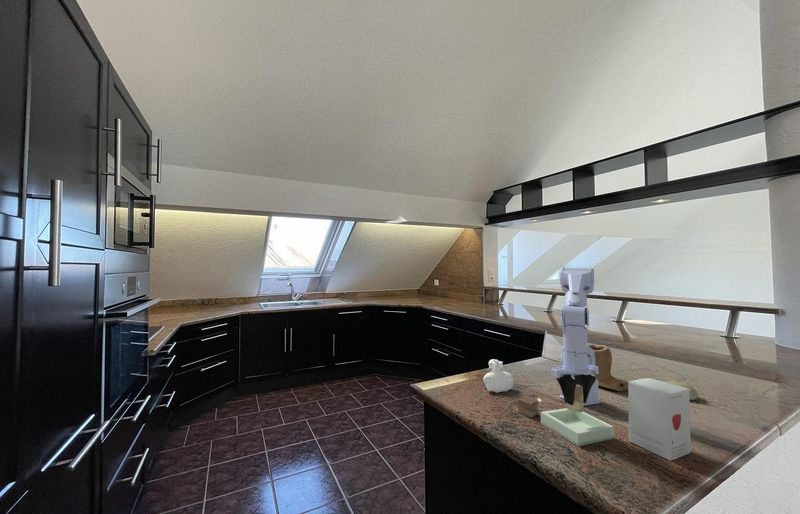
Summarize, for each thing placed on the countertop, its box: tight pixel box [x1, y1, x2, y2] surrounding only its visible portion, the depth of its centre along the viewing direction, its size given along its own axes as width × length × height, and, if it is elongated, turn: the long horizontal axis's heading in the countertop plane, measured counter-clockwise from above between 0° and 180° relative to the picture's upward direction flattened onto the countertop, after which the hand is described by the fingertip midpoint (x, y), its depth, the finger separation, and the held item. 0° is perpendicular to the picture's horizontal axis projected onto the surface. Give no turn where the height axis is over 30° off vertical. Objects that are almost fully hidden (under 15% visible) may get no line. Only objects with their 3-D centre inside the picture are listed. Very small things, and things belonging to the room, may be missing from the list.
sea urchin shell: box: [665, 380, 699, 401], centre depth 107 cm, size 9×8×8 cm
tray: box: [540, 407, 615, 447], centre depth 82 cm, size 12×12×3 cm
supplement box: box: [628, 377, 692, 461], centre depth 75 cm, size 9×9×15 cm
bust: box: [483, 358, 514, 393], centre depth 111 cm, size 12×8×11 cm
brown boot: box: [587, 344, 629, 392], centre depth 116 cm, size 15×12×15 cm
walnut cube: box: [517, 395, 539, 419], centre depth 91 cm, size 4×4×4 cm
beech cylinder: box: [565, 385, 585, 412], centre depth 82 cm, size 4×4×6 cm
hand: (575, 402), depth 82 cm, fingers closed on beech cylinder, 4 cm apart
